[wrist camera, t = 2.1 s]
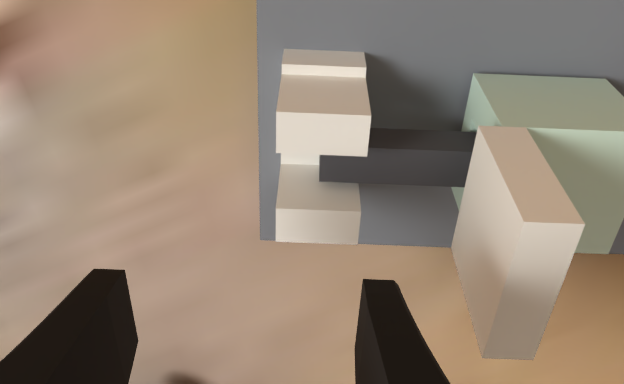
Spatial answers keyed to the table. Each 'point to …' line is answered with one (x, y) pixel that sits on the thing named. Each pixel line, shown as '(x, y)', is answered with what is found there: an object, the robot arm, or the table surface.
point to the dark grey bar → (405, 159)
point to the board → (398, 98)
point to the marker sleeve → (534, 199)
